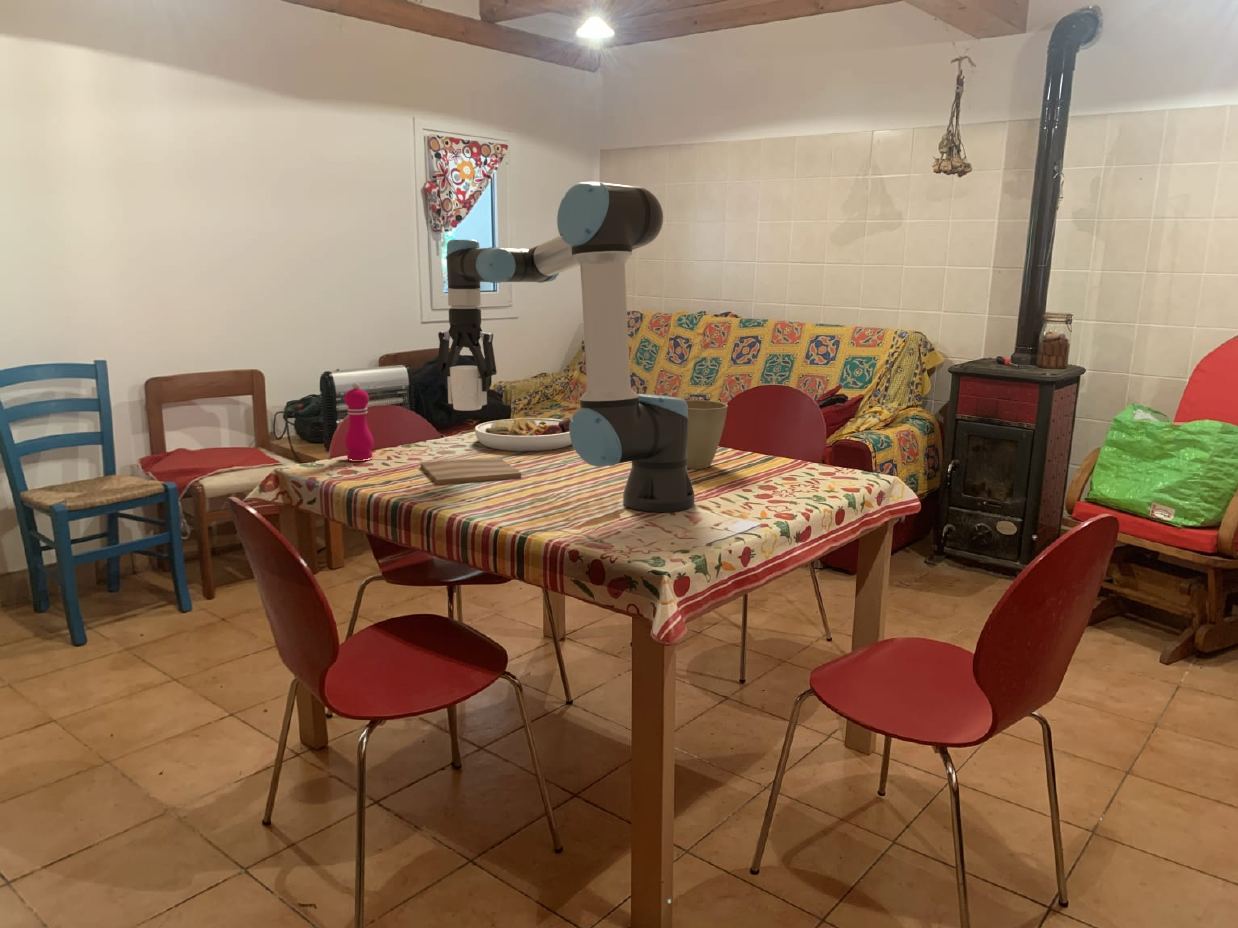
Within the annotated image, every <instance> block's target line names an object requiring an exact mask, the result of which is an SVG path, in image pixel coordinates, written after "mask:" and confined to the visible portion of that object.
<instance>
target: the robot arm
mask: <svg viewBox="0 0 1238 928" xmlns="http://www.w3.org/2000/svg"><path fill="white" fill-rule="evenodd" d="M556 222H557V223H556V225H557V231H558V234H559V235H558V236H556V237H554V238H552V239H550V240H547V241H545V242H543V243H541V244H539V245H537V246H534V247H530V248H506V247H505V248H502V247H498V246H497V247H493V246H490V247H484V248H483V247H480V243H479V241H478V240H476V239H450V240H448V241H447V242H446V256H445V259H446V273H447V274H446V275H447V276H446V277H447V304H448V306H449V307H450V308H449V309H448V323H449V329H448V330H446V331H439V332H438V333H437V336H438V340H439V341H438V342H439V347H438V357H437V368H436V371H437V373H438V374H441V375H443V376H444V388H445V389H446V390H447V401H448V402H447V403H448V404H450V405H453V398H452V392H451V380H450V367H454V366H457V363H458V360H459V357H460V354H461V351H462V350H463V348H467V349H468V350H469V351H470V353H471V354H472V357H473V360H474V362H475V366H477V368H478V371H479V373H480V377H479V378H478V406H482V407H483V406H486V405H488V399H487V398H488V397H487V396H488V392H489V391H490V378H491V377H492V376H495V375H497V373H498V372H497V365H496V360H495V352H494V347H493V346H494V345H493V339H494V333H492V332H489V333H488V332H484V331H483V330H482V327H481V324H482V310H481V308H479V307H480V306H482V304H481V303H482V302H481V282H482V283H490V284H494V283H495V284H500V283H540V284H541V283H547V282H548V283H549V282H553V281H555V280H556V279H557V277H558V276H559V274H561V273H563V272H566V271H567V270H568V271H569V270H571V269H573V268H575V267H578V266H580V267H579V268H580V280H581V281H580V284H581V301H582V302H581V303H582V318H583V319H582V321H583V336H584V337H583V338H584V354H585V355H584V356H585V371H586V372H585V374H586V391H584V393H583V394H582V395H581V396H580V397H579V400H580V401H579V403H580V408H579V409H578V410H577V411H575V412H574V413H573V414H572V416H571V419H570V420H571V421H570V426H569V432H570V438H571V442H572V444H571V446H572V447H573V449H574V450H575V453H576V455H578V456H579V457H580V459H581V460H582V462H583V461H584V463H586V464H588V465H590V466H591V467H593V466H594V467H605V466H606V467H607V466H608V467H613V466H616V465H618V464H619V465H620V464H623V463H630V462H631V469H630V471H629V475H628V478H627V480H626V484H625V486H624V489H623V494H622V496H623V497H622V499H623V501H622V503H623V506H624V505H625V507H627V508H629V509H632V510H637V511H643V512H653V513H668V512H672V513H673V512H678V511H684V510H688V509H690V508H693V507H694V505H695V491H694V488H693V485H692V482H691V479H690V474H689V471H688V468H687V445H688V420H689V417H688V405H687V403H686V401H684V400H685V399H683V398H680V397H679V398H678V397H674V396H668V395H667V396H666V395H658V394H646V393H645V394H644V393H637V392H636V391H634V390H633V388H632V387H631V370H630V369H631V368H630V350H629V330H628V329H629V328H628V327H629V326H628V310H627V309H628V306H627V287H626V285H627V284H626V266H625V265H626V262H627V261H628V259H629V258H630V257H631V256H632V255H633V250H636V249H639V248H642V247H644V246H647V245H649V244H650V243H652V242H653V241H654V240H655V239H657V237H658V236H659V234H660V233H661V231H662V227H663V224H664V213H663V208H662V204H661V203H660V201H659V200H658V198H657V197H656V196H655V194H653V193H652V192H651V191H650V190H648V189H646V188H644V187H641V186H639V185H638V186H637V185H625V184H616V183H610V182H609V183H608V182H603V181H602V182H601V181H586V182H585V181H584V182H583V181H582V182H578V183H575V184H574V185H573V186H571V187H570V188H569V189H568V190H566V192H565V195H564V197H562V199H561V201H560V204H559V206H558V210H557V219H556ZM450 339H452V343H451V346H450ZM480 339H481V341H482V346H481V344H480ZM482 348H483V349H482ZM449 350H450V352H449ZM482 351H483V352H482Z"/></svg>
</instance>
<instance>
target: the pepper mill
mask: <svg viewBox="0 0 1238 928" xmlns="http://www.w3.org/2000/svg"><path fill="white" fill-rule="evenodd" d="M351 386H352V387H351V388H352V389H349V390H347V392H345V395H344V403H345V405H346V406H347V407H348V408H346V409H347V413H346V414H348V416H349V423H348V430H347V432H346V435H345V437H344V438H345V439H344V447H345V448H346V449H347V450H348V453H346V454H347V455H346V456H347V458H348V459H352V460H363V459H368V458H371V457H372V458H373V452H372V451H371V449H373V447H374V445H375V444H374V437H373V435H372V432H371V431H370V429H369V426H368V424H367V418H366V417H367V414H368V413H369V411H368V407H367V406H368V404H369V402H370V397H369V393H368V392H366V390H364V389H361V388H360V386H361V385H360V384H359V383H358V382H354V383H353V384H352V385H351ZM348 459H347V460H348Z"/></svg>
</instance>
